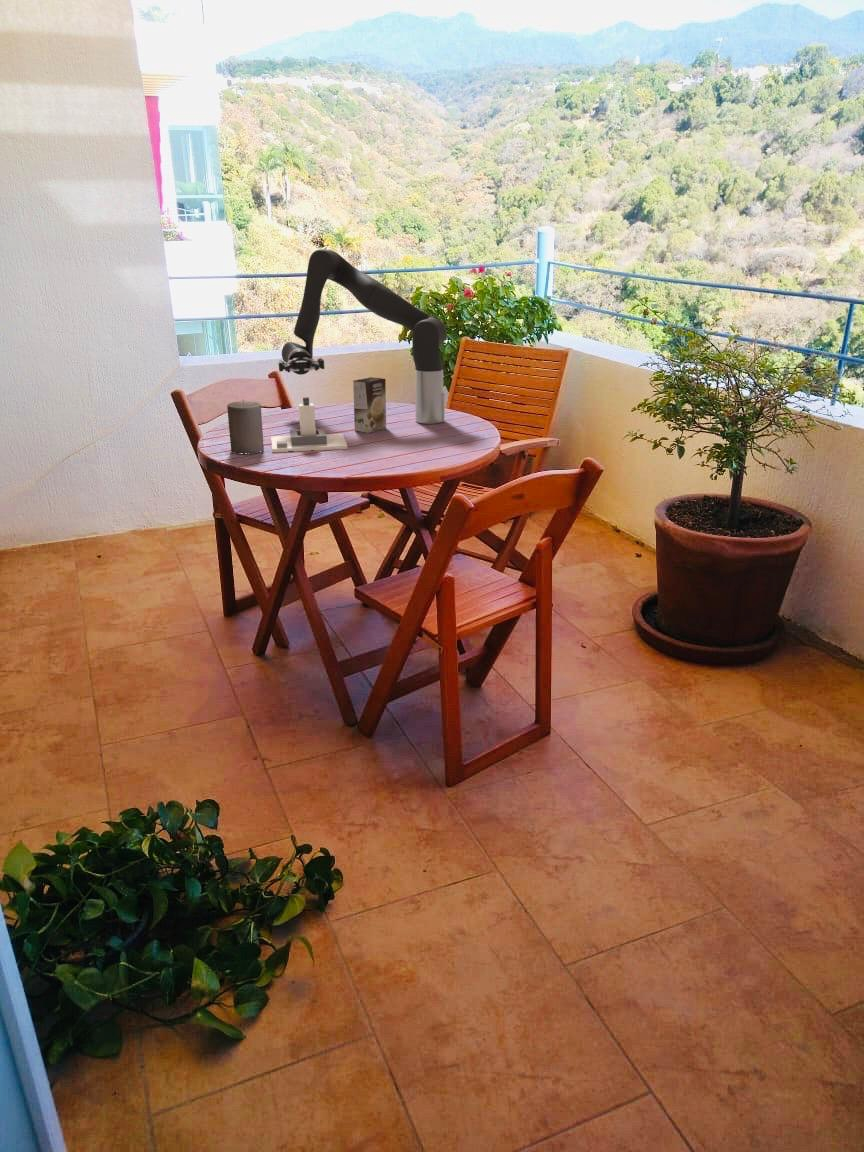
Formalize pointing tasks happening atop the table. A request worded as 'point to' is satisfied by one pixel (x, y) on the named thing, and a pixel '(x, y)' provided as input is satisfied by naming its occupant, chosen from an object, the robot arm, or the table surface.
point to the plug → (307, 418)
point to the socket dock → (329, 446)
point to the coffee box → (369, 404)
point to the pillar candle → (245, 427)
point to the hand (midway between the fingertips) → (302, 368)
